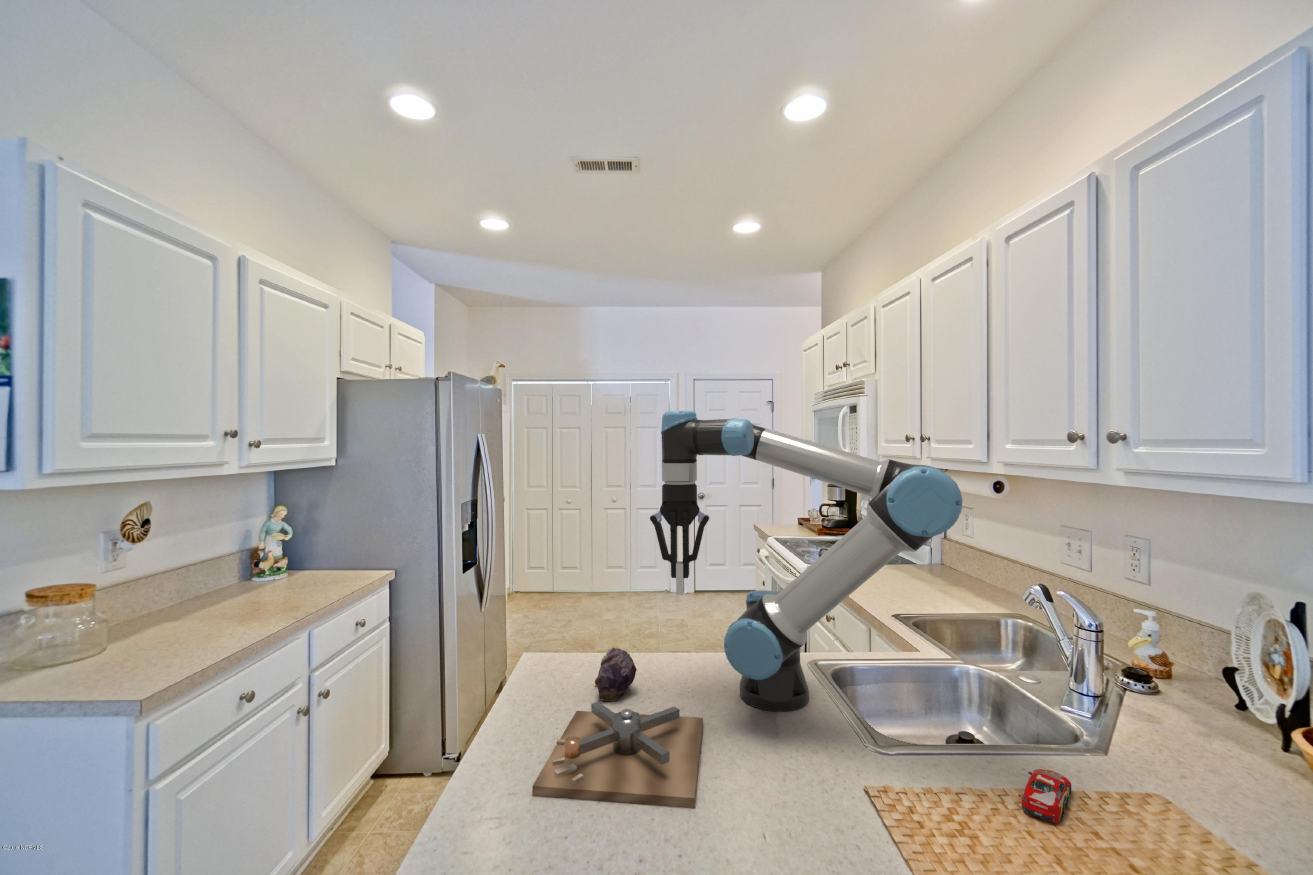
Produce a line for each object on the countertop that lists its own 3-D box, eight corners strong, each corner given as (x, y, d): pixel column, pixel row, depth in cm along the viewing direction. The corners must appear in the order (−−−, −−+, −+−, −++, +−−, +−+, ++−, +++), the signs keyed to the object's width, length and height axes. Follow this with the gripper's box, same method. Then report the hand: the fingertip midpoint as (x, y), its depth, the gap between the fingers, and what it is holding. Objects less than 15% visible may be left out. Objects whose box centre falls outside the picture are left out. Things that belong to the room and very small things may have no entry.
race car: (1035, 777, 95) (1034, 753, 95) (1075, 791, 91) (1074, 766, 91) (1015, 814, 85) (1015, 787, 85) (1059, 830, 81) (1058, 802, 82)
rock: (591, 708, 123) (637, 706, 123) (589, 671, 122) (636, 669, 122) (595, 678, 135) (637, 676, 135) (594, 644, 133) (636, 642, 134)
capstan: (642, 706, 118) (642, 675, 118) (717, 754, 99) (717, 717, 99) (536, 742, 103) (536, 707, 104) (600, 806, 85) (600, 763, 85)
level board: (703, 725, 113) (702, 714, 113) (694, 807, 87) (694, 793, 87) (576, 717, 116) (576, 707, 116) (532, 795, 90) (532, 781, 90)
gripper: (710, 481, 124) (711, 589, 124) (651, 481, 126) (652, 587, 125) (709, 484, 117) (710, 598, 116) (646, 483, 118) (647, 596, 118)
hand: (680, 592), depth 121 cm, fingers closed
